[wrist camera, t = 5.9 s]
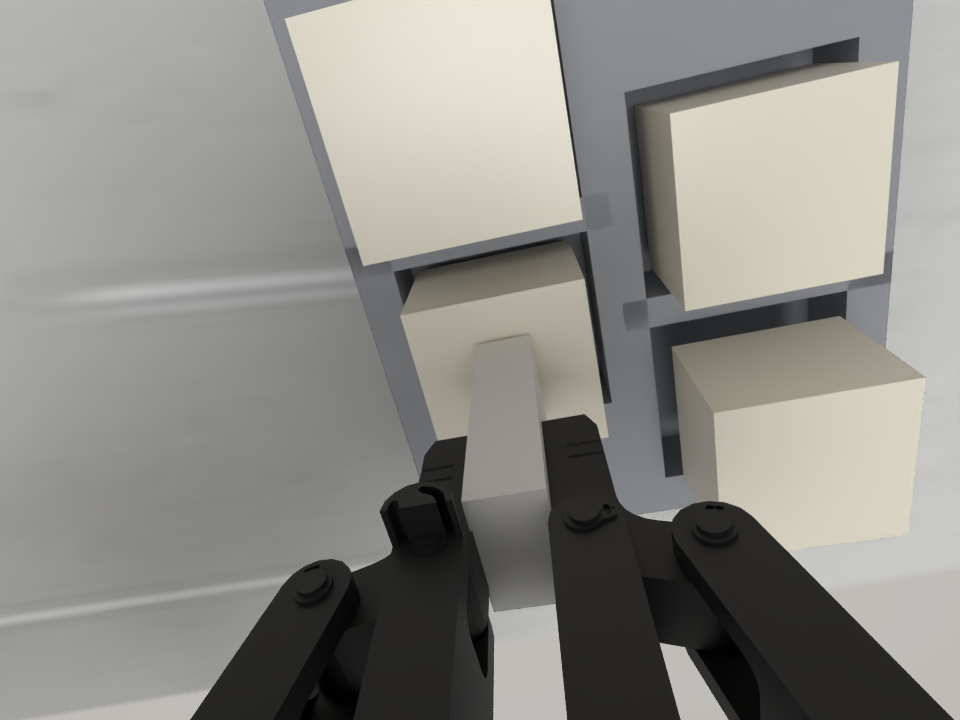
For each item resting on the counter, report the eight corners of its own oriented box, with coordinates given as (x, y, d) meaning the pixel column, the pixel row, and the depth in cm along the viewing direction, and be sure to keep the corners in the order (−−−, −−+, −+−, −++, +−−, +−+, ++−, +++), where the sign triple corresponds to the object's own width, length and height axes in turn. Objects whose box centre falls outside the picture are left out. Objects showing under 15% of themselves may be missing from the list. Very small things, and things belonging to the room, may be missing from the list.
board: (449, 480, 27) (439, 557, 22) (229, -249, 16) (133, -363, 12) (820, 419, 25) (886, 491, 20) (846, -454, 14) (994, -679, 10)
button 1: (683, 474, 20) (722, 560, 17) (671, 346, 18) (713, 413, 15) (834, 450, 20) (907, 534, 16) (839, 315, 18) (926, 377, 14)
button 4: (392, 225, 17) (363, 266, 13) (336, 32, 15) (284, 18, 11) (564, 187, 16) (582, 219, 13) (531, -20, 14) (542, -52, 11)
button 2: (454, 399, 22) (445, 464, 18) (418, 270, 20) (400, 315, 16) (590, 375, 21) (608, 437, 17) (568, 239, 19) (584, 278, 15)
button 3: (650, 267, 19) (685, 311, 16) (634, 105, 17) (669, 113, 14) (809, 235, 19) (883, 273, 15) (812, 63, 17) (898, 60, 13)
